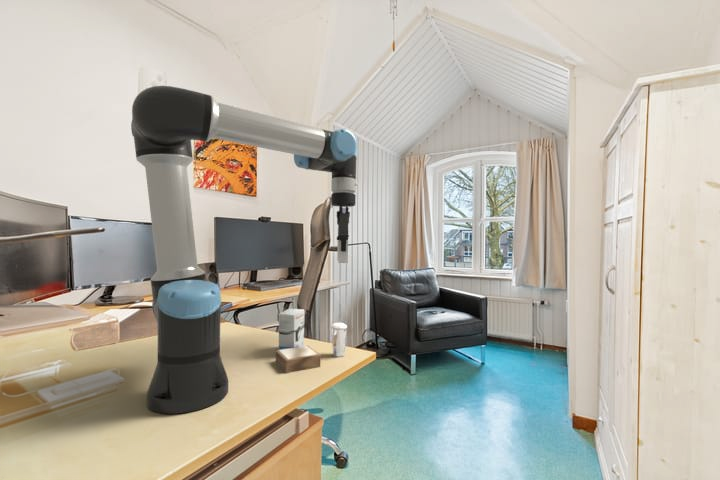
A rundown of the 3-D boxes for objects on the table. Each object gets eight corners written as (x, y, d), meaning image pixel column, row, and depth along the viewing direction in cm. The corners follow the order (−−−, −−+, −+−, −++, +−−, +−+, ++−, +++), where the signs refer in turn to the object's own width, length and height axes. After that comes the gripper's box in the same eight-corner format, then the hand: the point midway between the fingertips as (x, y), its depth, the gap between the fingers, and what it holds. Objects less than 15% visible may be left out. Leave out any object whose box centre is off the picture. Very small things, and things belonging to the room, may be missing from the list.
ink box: (294, 357, 96) (294, 314, 96) (277, 355, 97) (278, 313, 97) (305, 347, 105) (305, 308, 105) (289, 346, 106) (290, 308, 106)
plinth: (286, 373, 85) (286, 360, 85) (275, 361, 93) (275, 349, 93) (320, 366, 89) (320, 354, 89) (307, 356, 97) (307, 344, 97)
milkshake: (349, 357, 96) (349, 321, 96) (329, 357, 96) (330, 321, 96) (350, 352, 101) (350, 318, 101) (331, 352, 101) (331, 317, 101)
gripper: (358, 187, 95) (357, 264, 95) (352, 198, 120) (351, 259, 120) (331, 186, 95) (330, 264, 95) (331, 197, 120) (329, 259, 119)
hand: (342, 261), depth 107 cm, fingers open, 13 cm apart
